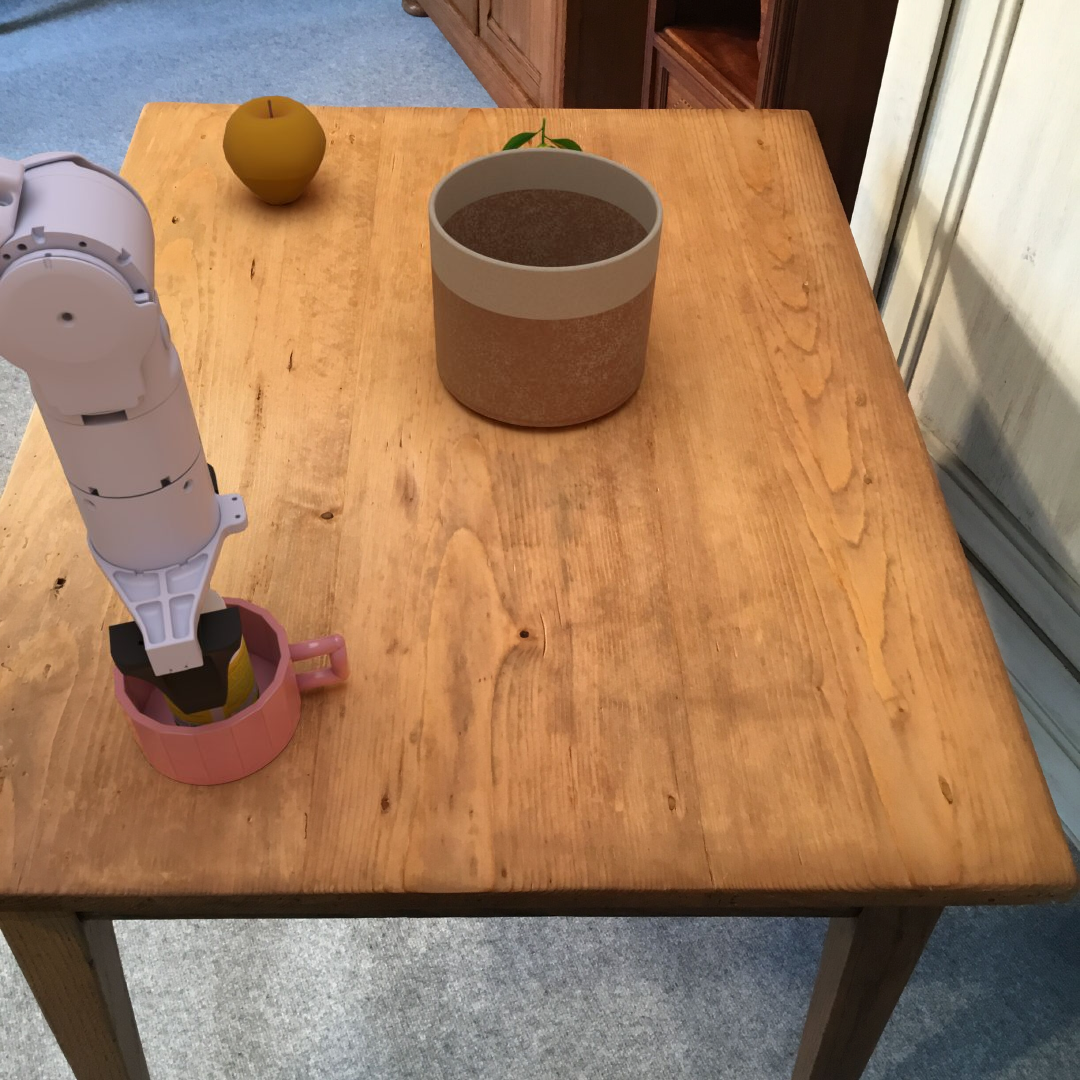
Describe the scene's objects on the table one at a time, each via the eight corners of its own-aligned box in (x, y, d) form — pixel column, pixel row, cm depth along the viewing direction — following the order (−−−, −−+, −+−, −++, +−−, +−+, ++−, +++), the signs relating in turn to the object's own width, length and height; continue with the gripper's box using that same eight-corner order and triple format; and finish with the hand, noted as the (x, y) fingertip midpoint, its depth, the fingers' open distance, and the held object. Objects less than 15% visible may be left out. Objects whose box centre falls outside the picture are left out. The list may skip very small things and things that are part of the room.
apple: (338, 218, 97) (326, 121, 90) (235, 228, 95) (216, 130, 89) (327, 168, 103) (316, 74, 96) (231, 176, 101) (212, 81, 95)
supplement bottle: (252, 664, 63) (225, 568, 57) (269, 729, 60) (243, 635, 54) (167, 688, 61) (130, 592, 55) (180, 756, 58) (143, 662, 52)
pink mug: (143, 804, 57) (118, 753, 53) (131, 671, 63) (109, 616, 59) (368, 747, 60) (359, 695, 56) (337, 624, 66) (328, 570, 62)
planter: (651, 317, 88) (671, 158, 78) (633, 447, 77) (654, 281, 67) (459, 296, 89) (454, 136, 79) (415, 420, 79) (403, 254, 68)
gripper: (250, 553, 43) (296, 741, 53) (209, 337, 52) (255, 532, 62) (61, 591, 41) (146, 778, 51) (54, 362, 50) (127, 558, 60)
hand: (196, 645), depth 56 cm, fingers open, 7 cm apart
